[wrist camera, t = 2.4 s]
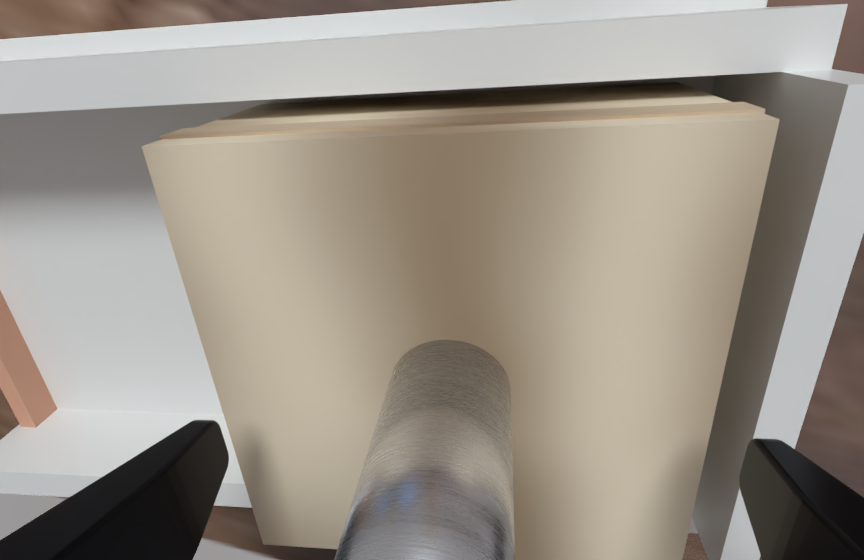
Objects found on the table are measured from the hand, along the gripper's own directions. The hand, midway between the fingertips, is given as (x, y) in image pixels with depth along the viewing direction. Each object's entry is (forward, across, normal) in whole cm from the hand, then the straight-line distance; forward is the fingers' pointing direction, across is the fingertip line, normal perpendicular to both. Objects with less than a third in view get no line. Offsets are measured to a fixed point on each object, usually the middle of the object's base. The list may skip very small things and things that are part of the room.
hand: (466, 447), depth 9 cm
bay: (+8, +5, 0) cm, 9 cm away
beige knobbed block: (+8, 0, 0) cm, 8 cm away
